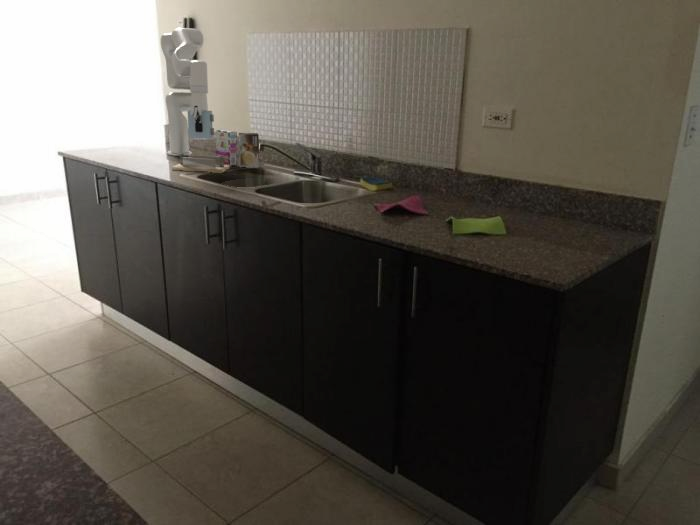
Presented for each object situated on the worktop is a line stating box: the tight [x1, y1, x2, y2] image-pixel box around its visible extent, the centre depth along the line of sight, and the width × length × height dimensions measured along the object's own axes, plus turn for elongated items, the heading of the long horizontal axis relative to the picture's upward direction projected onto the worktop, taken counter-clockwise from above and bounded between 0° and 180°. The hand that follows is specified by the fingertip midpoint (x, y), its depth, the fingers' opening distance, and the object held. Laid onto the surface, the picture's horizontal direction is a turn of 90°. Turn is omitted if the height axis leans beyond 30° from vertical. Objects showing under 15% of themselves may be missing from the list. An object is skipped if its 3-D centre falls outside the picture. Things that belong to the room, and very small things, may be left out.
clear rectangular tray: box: [171, 153, 232, 174], centre depth 274 cm, size 15×23×6 cm, turn 84°
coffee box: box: [238, 132, 260, 169], centre depth 284 cm, size 9×6×16 cm
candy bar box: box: [215, 129, 238, 167], centre depth 287 cm, size 11×5×16 cm, turn 47°
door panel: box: [187, 110, 215, 139], centre depth 269 cm, size 4×11×12 cm, turn 84°
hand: (200, 130), depth 270 cm, fingers closed on door panel, 4 cm apart
